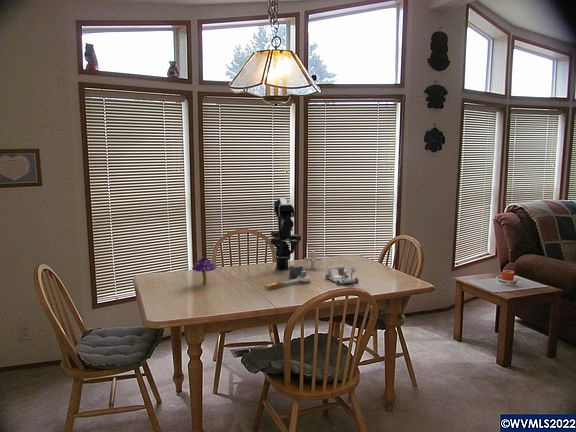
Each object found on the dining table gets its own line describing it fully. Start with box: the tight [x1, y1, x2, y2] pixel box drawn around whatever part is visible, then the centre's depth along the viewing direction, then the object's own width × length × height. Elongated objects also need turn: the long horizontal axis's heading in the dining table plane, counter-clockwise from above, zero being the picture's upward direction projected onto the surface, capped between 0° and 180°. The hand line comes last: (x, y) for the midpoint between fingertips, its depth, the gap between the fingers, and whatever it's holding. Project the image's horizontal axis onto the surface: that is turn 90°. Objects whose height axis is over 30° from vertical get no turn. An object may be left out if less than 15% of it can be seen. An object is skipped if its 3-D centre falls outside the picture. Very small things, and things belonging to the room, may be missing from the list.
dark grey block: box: [288, 264, 304, 279], centre depth 252 cm, size 5×5×6 cm
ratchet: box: [264, 270, 311, 291], centre depth 236 cm, size 28×7×6 cm, turn 128°
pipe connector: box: [303, 250, 322, 269], centre depth 272 cm, size 10×10×10 cm
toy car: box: [324, 265, 359, 287], centre depth 242 cm, size 18×10×12 cm
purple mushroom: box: [191, 256, 217, 286], centre depth 237 cm, size 12×12×15 cm
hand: (286, 254), depth 251 cm, fingers open, 9 cm apart
